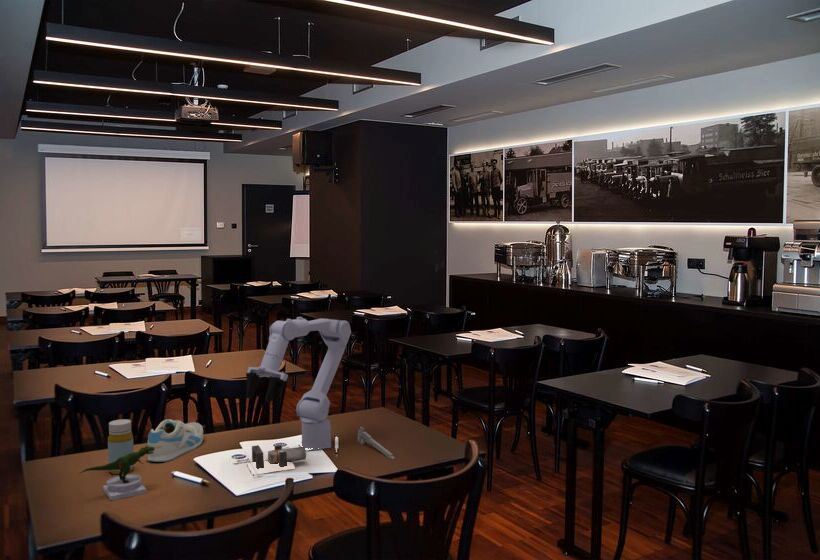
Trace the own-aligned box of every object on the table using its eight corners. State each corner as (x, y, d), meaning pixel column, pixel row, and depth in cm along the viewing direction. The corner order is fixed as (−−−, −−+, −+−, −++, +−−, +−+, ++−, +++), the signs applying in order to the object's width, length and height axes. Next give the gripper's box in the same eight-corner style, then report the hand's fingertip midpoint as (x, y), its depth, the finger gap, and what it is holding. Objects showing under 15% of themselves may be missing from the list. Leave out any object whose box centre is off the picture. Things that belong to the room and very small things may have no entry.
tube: (302, 457, 213) (302, 444, 213) (306, 461, 209) (306, 448, 209) (267, 462, 209) (267, 449, 208) (270, 466, 205) (270, 453, 205)
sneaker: (212, 438, 236) (211, 408, 235) (171, 465, 209) (170, 431, 209) (185, 437, 237) (184, 406, 237) (141, 463, 211) (140, 429, 210)
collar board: (288, 459, 214) (288, 440, 213) (295, 469, 206) (295, 449, 205) (246, 465, 209) (246, 446, 208) (252, 475, 201) (252, 455, 200)
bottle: (139, 468, 206) (137, 420, 205) (122, 476, 200) (120, 426, 199) (120, 465, 209) (119, 417, 207) (103, 473, 202) (101, 424, 201)
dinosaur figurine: (160, 490, 189) (159, 449, 189) (82, 507, 178) (80, 464, 177) (151, 480, 197) (149, 441, 196) (75, 496, 185) (73, 454, 184)
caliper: (357, 443, 231) (357, 425, 230) (360, 443, 231) (360, 425, 231) (392, 460, 215) (392, 440, 214) (395, 459, 215) (395, 440, 215)
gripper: (247, 350, 210) (232, 392, 205) (283, 356, 203) (268, 399, 198) (261, 357, 216) (246, 398, 211) (297, 363, 208) (282, 406, 204)
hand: (258, 399), depth 205 cm, fingers open, 7 cm apart
